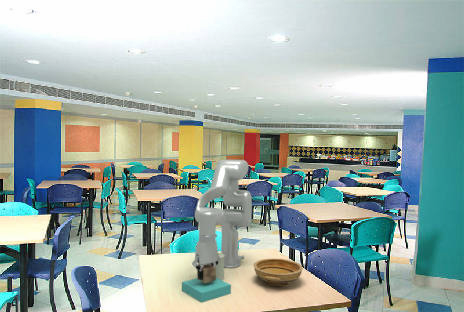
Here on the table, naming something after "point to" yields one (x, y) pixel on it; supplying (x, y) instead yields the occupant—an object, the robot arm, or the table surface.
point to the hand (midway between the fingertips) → (206, 277)
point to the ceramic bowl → (277, 271)
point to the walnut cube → (208, 273)
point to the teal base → (206, 289)
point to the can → (220, 267)
